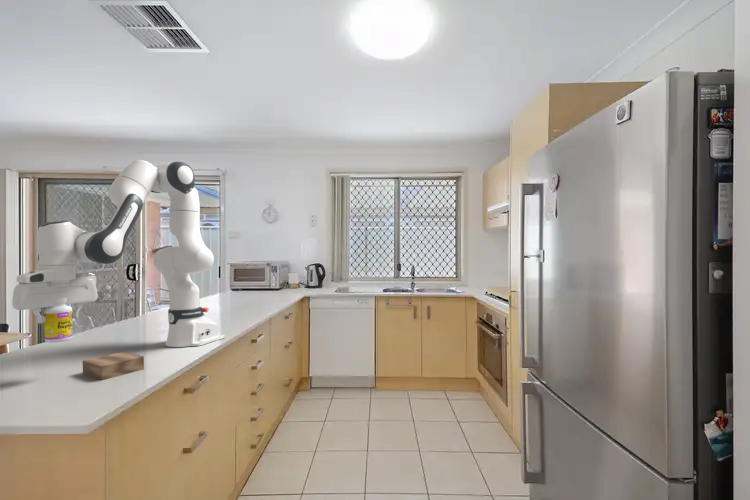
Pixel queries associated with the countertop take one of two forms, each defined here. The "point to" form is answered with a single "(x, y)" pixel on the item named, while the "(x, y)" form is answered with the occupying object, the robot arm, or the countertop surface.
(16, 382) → the countertop surface
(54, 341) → the supplement bottle
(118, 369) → the walnut base
